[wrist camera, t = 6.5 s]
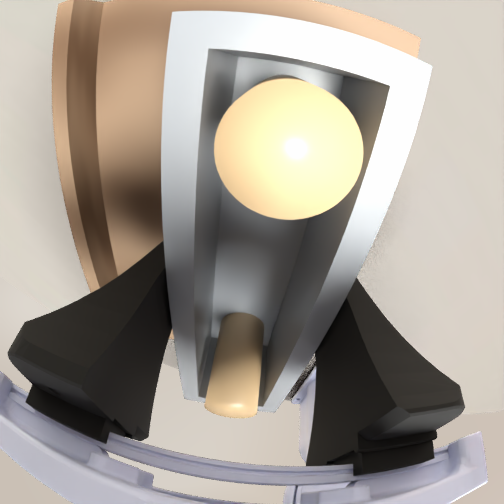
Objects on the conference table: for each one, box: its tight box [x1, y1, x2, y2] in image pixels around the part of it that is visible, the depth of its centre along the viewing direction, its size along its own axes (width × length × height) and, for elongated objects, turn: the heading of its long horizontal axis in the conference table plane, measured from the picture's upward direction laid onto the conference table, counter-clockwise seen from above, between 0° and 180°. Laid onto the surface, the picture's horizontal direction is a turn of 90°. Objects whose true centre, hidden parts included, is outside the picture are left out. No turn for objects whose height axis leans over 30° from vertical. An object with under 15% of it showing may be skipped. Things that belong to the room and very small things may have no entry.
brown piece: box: [52, 0, 421, 339], centre depth 12 cm, size 20×13×4 cm, turn 172°
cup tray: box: [161, 11, 432, 418], centre depth 10 cm, size 16×5×6 cm, turn 172°
